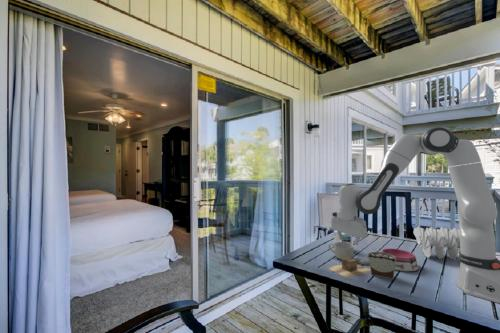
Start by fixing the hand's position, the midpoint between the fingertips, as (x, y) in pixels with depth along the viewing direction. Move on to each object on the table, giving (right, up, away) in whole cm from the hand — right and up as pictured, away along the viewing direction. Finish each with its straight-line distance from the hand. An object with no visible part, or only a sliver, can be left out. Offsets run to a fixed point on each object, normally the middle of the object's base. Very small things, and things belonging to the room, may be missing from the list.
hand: (348, 242), depth 126 cm
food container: (+14, -14, -7) cm, 21 cm away
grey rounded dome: (+13, -14, +9) cm, 21 cm away
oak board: (0, -14, 0) cm, 14 cm away
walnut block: (0, -14, 0) cm, 14 cm away
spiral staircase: (+59, -14, +13) cm, 62 cm away
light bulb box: (+9, -15, +32) cm, 36 cm away
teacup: (+2, -14, +16) cm, 22 cm away
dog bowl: (+28, -14, +4) cm, 32 cm away
